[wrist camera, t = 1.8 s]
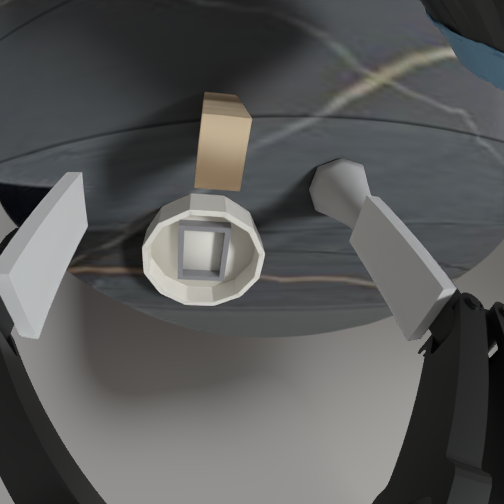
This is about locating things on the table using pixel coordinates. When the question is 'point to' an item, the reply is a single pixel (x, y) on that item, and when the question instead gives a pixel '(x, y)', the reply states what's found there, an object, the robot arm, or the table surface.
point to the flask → (340, 190)
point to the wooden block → (222, 142)
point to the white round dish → (202, 250)
